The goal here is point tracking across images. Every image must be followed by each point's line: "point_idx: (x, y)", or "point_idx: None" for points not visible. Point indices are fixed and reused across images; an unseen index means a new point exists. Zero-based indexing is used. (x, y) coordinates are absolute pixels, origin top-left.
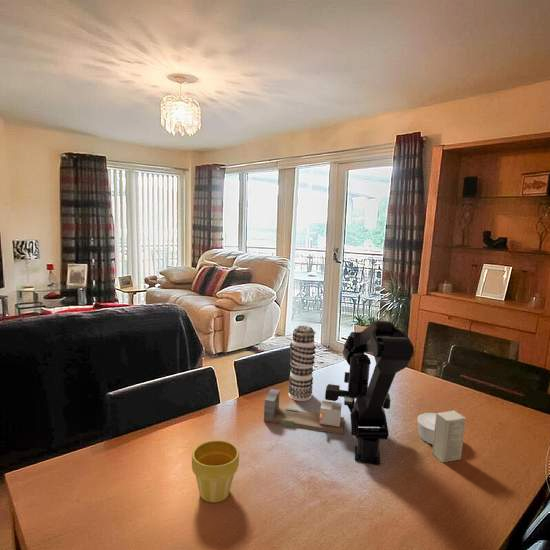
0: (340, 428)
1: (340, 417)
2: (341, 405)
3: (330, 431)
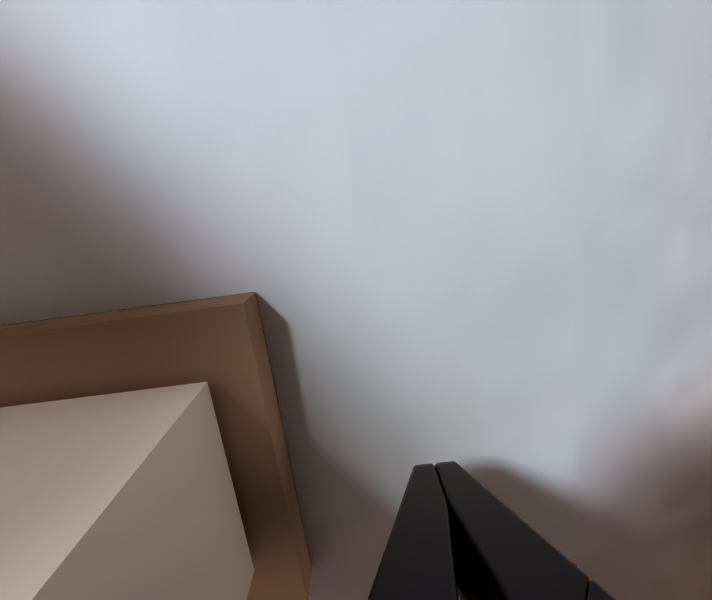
0: (271, 572)
1: (205, 518)
2: (62, 588)
3: None
